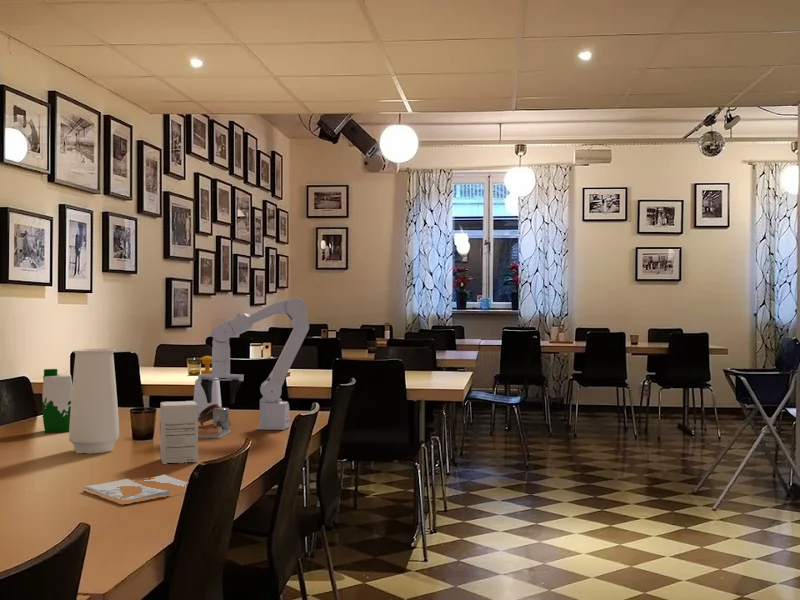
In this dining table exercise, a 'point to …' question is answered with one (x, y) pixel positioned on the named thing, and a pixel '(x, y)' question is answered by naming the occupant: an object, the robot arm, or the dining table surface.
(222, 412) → the grey cylinder
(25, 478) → the dining table surface
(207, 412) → the pottery mug
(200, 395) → the soap bottle
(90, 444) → the vase
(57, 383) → the milk carton
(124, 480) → the white flat pieces
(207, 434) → the flange plate
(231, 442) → the dining table surface
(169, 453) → the supplement box
